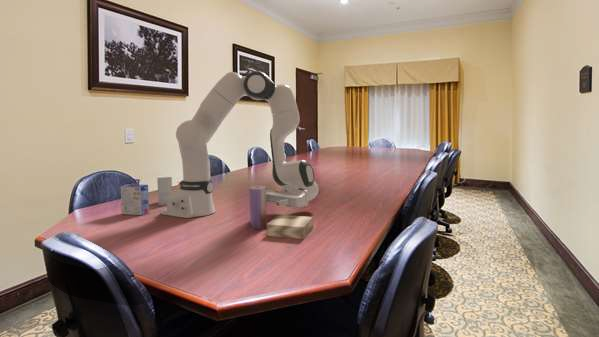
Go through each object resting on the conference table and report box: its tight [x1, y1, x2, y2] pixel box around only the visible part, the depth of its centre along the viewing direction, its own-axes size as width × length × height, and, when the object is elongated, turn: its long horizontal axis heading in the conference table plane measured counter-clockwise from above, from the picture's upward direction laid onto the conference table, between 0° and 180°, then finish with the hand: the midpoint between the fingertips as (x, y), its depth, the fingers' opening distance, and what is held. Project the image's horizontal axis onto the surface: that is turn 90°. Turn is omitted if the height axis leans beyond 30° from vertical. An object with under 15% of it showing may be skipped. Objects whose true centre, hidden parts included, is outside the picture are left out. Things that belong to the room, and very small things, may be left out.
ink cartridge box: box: [120, 178, 150, 216], centre depth 153 cm, size 10×6×14 cm, turn 79°
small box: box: [156, 174, 173, 206], centre depth 172 cm, size 8×6×13 cm
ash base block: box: [266, 214, 314, 240], centre depth 127 cm, size 13×13×4 cm
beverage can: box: [249, 185, 268, 230], centre depth 132 cm, size 6×6×15 cm
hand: (268, 201), depth 136 cm, fingers open, 8 cm apart
